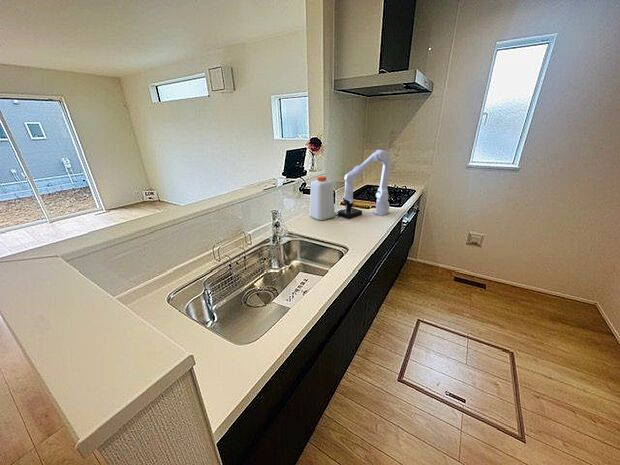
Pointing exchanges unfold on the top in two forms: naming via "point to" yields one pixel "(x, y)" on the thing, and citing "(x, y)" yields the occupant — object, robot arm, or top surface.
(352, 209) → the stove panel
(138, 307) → the top surface
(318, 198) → the plastic bottle
